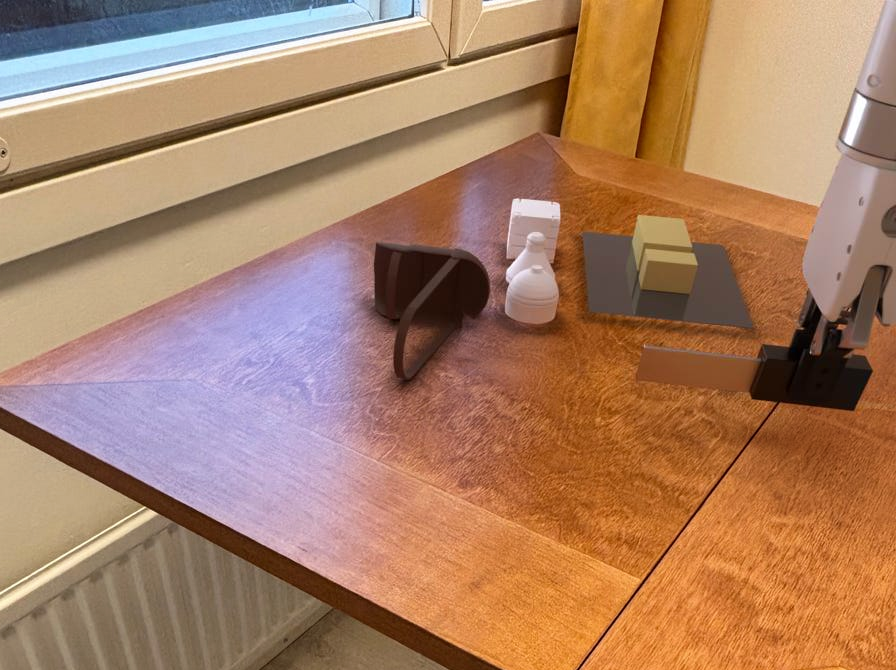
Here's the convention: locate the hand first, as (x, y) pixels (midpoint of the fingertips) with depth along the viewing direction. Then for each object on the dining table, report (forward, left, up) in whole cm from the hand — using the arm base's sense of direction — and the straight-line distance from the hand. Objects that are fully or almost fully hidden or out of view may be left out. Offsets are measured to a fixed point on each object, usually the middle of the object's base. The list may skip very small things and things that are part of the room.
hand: (804, 388), depth 70 cm
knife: (+4, 0, -1) cm, 4 cm away
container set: (+21, -25, -5) cm, 33 cm away
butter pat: (+7, -27, -4) cm, 28 cm away
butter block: (+7, -34, -4) cm, 35 cm away
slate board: (+7, -29, -5) cm, 31 cm away
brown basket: (+31, -10, -5) cm, 33 cm away
